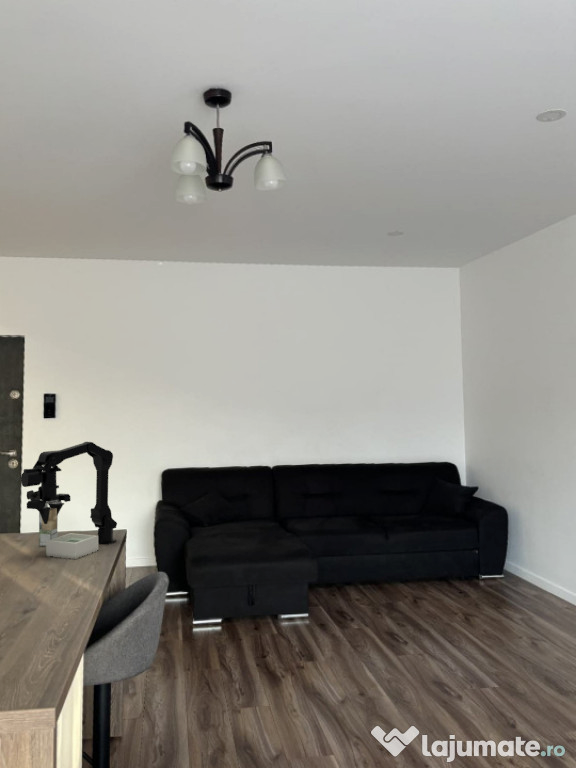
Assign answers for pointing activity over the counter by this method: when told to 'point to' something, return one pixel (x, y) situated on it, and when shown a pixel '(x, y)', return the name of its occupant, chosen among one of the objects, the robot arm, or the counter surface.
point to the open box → (72, 545)
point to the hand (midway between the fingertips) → (49, 522)
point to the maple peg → (51, 520)
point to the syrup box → (46, 533)
